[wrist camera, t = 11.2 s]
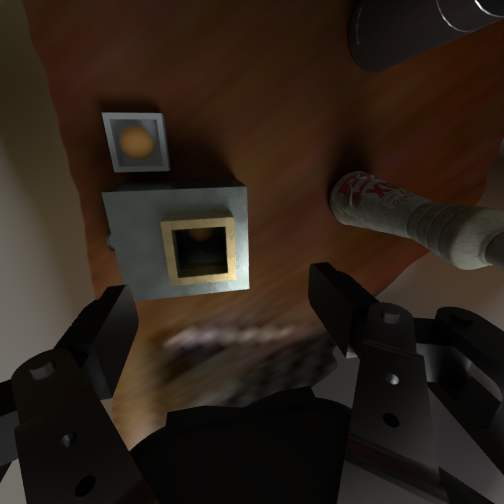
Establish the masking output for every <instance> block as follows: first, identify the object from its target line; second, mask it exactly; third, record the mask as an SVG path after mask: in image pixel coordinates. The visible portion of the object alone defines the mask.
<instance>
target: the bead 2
mask: <svg viewBox="0 0 504 504" xmlns="http://www.w3.org/2000/svg"><path fill="white" fill-rule="evenodd" d="M187 231H188V234H189V235H190V237H191V238H192V239H194V240H196V241H205V240H207V239H209V238H210V237H211V236H212V234H213V231H214V227H208V228H193V229H187Z"/></svg>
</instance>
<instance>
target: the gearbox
mask: <svg viewBox="0 0 504 504" xmlns="http://www.w3.org/2000/svg"><path fill="white" fill-rule="evenodd" d="M101 193H102V197H103V201H104V205H105V210H106V214H107V218H108V222H109V227H110V229H108V230H107V233H106V241H107V245H108V248H109V249H110V250H111V251H115V252H116V256H117V261H118V265H119V269H120V273H121V278H122V282H123V285H129V286H130V288H131V291H132V295H133V299H134V302H135V301H144V300H153V299H161V298H170V297H179V296H188V295H197V294H206V293H215V292H224V291H232V290H241V289H249V265H248V216H247V186H246V185H244V184H243V183H242V182H240V181H239V180H238V179H236V178H220V179H191V180H162V181H133V182H124V183H122V184H119V185H117V186H115V187H113V188H110V189H108V190H106V191H104V192H101ZM208 227H214V231H213V234H212V236H211V237H210V238H209V239H207V240H205V241H196V240H194V239H192V238H191V237H190V235H189V234H188V231H187V229H193V228H208Z"/></svg>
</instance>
